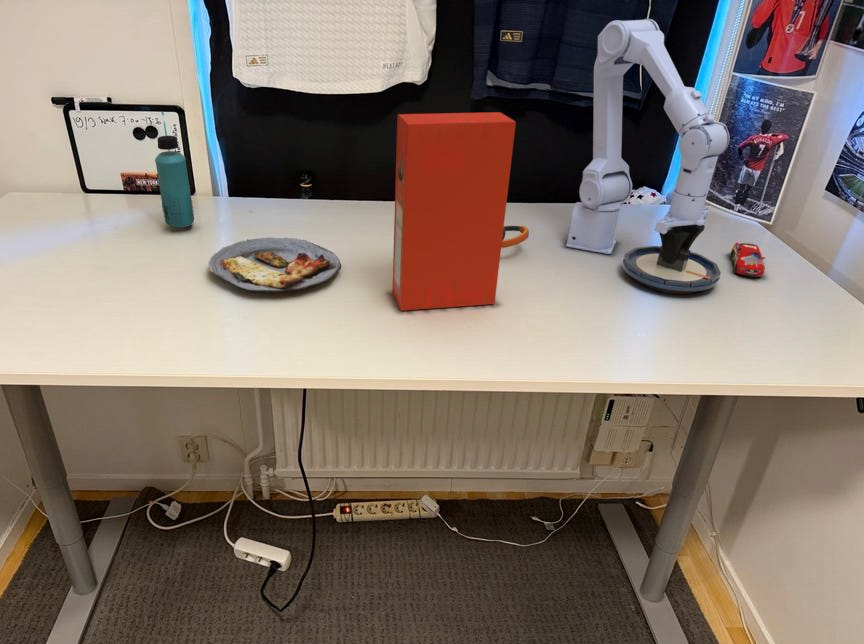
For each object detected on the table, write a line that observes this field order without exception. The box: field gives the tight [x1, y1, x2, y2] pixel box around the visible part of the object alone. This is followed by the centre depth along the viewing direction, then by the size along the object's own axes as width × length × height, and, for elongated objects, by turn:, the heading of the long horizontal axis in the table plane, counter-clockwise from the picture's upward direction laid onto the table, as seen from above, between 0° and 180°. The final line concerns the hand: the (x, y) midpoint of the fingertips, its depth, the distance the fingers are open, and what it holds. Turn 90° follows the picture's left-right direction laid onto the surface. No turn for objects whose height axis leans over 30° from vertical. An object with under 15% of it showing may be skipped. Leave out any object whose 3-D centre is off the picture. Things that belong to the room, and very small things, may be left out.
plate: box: [621, 245, 722, 292], centre depth 132 cm, size 18×18×5 cm
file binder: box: [391, 111, 517, 312], centre depth 116 cm, size 8×17×32 cm, turn 101°
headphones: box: [501, 225, 530, 249], centre depth 145 cm, size 17×5×20 cm
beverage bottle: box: [154, 135, 196, 228], centre depth 146 cm, size 6×7×20 cm
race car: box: [730, 241, 766, 278], centre depth 139 cm, size 13×5×4 cm, turn 161°
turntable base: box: [635, 279, 698, 295], centre depth 134 cm, size 13×13×2 cm
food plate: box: [208, 237, 342, 293], centre depth 132 cm, size 25×23×4 cm
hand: (672, 260), depth 132 cm, fingers closed on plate, 2 cm apart
